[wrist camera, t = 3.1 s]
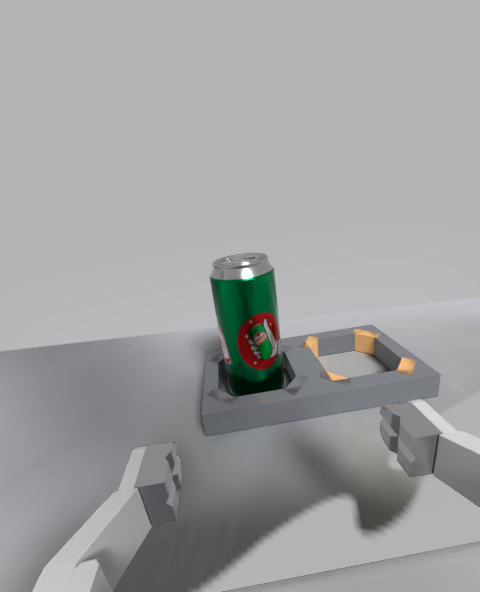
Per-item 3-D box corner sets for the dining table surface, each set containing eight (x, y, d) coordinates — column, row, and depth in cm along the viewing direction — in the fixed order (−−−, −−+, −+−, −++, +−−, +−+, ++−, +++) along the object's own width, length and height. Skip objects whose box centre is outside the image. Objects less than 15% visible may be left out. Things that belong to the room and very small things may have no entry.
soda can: (236, 370, 27) (218, 255, 23) (286, 371, 25) (275, 249, 21) (222, 405, 22) (197, 268, 18) (282, 409, 21) (268, 263, 17)
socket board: (205, 435, 19) (201, 414, 19) (209, 367, 28) (206, 350, 27) (437, 396, 20) (440, 374, 19) (371, 341, 28) (371, 324, 28)
